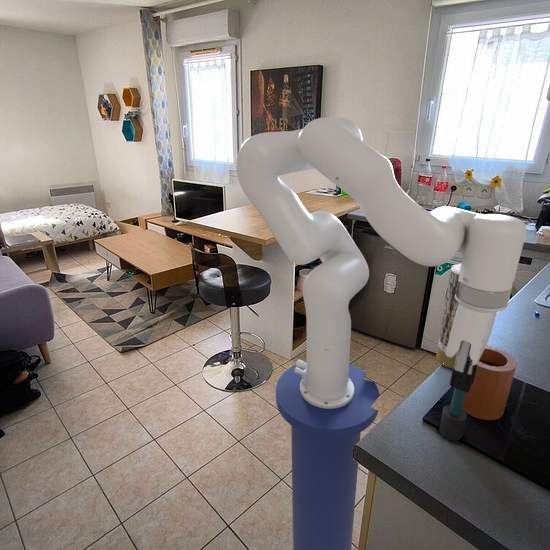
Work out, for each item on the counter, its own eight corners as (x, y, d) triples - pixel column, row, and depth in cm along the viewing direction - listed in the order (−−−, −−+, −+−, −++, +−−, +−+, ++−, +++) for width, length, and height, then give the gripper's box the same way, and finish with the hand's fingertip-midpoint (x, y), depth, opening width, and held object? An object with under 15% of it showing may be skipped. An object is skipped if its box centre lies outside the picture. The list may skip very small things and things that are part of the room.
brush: (436, 433, 70) (451, 360, 63) (442, 421, 72) (458, 349, 66) (458, 444, 67) (476, 369, 61) (464, 431, 70) (482, 357, 63)
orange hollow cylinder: (450, 407, 77) (459, 359, 72) (461, 384, 83) (471, 339, 78) (498, 427, 71) (512, 377, 67) (507, 401, 78) (520, 354, 73)
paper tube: (465, 357, 92) (484, 265, 83) (465, 372, 87) (486, 276, 77) (436, 351, 95) (451, 262, 85) (435, 366, 89) (451, 272, 80)
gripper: (469, 272, 66) (451, 356, 73) (442, 304, 55) (425, 400, 62) (517, 282, 62) (493, 371, 69) (499, 319, 50) (473, 420, 58)
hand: (461, 384), depth 65 cm, fingers closed on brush
